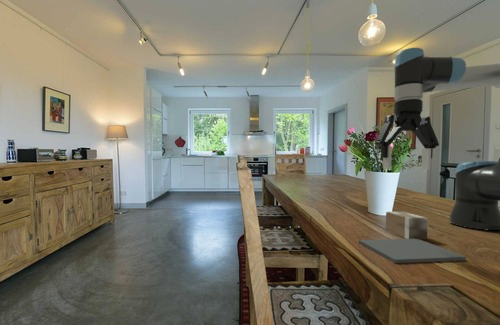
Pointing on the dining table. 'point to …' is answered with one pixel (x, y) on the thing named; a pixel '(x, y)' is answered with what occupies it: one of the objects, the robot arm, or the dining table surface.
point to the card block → (407, 225)
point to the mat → (410, 250)
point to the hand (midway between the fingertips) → (406, 169)
